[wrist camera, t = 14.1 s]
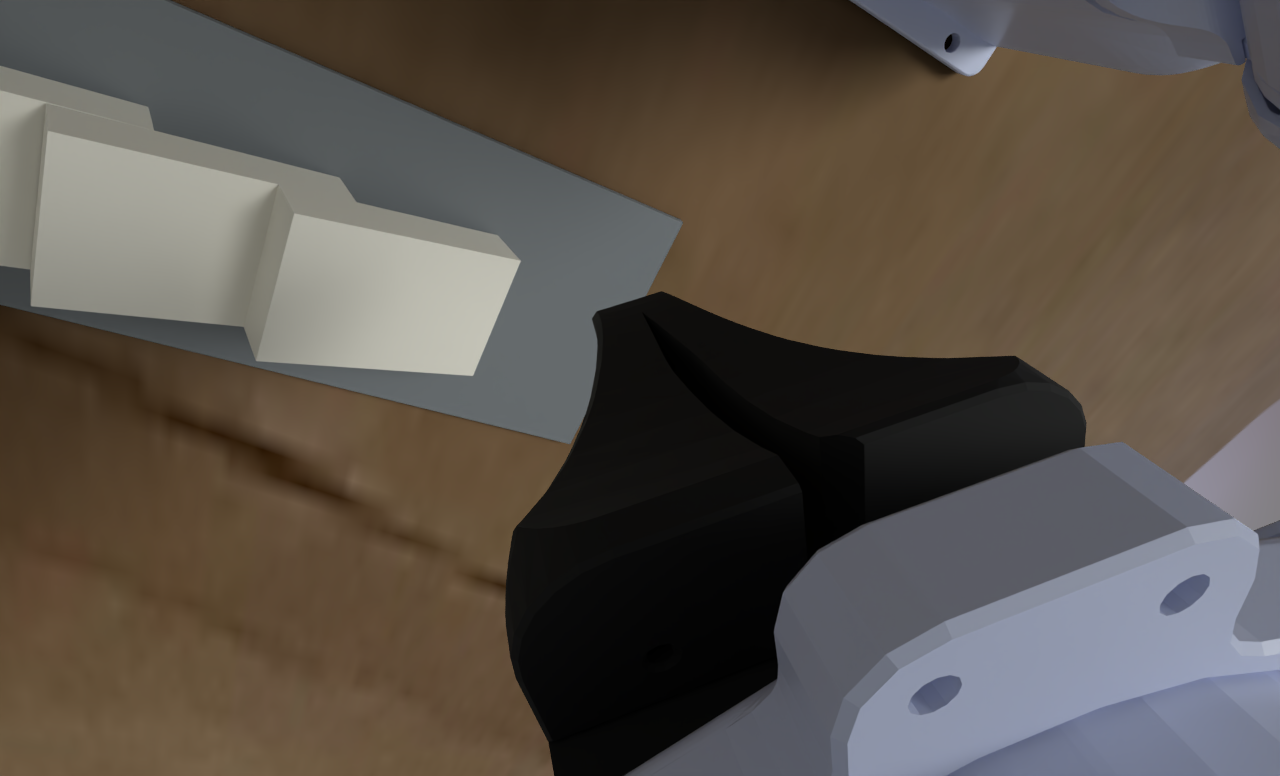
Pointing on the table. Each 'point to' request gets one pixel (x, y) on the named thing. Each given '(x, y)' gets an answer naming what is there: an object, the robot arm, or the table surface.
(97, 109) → the domino
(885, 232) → the table surface
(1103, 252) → the table surface
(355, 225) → the domino
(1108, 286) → the table surface
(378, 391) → the mat
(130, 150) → the domino
